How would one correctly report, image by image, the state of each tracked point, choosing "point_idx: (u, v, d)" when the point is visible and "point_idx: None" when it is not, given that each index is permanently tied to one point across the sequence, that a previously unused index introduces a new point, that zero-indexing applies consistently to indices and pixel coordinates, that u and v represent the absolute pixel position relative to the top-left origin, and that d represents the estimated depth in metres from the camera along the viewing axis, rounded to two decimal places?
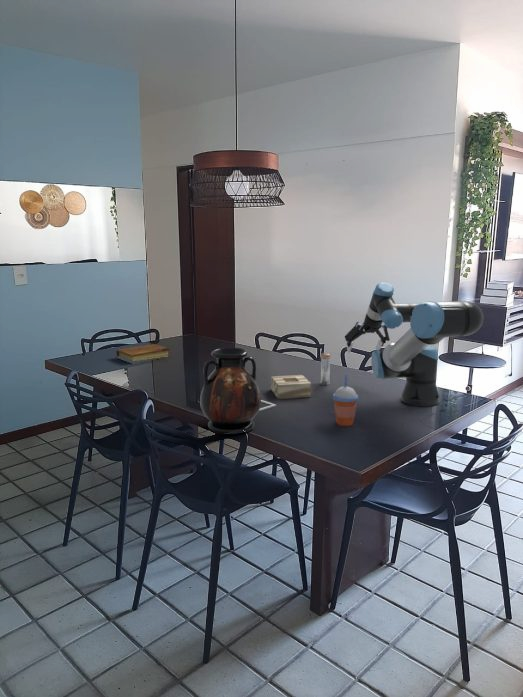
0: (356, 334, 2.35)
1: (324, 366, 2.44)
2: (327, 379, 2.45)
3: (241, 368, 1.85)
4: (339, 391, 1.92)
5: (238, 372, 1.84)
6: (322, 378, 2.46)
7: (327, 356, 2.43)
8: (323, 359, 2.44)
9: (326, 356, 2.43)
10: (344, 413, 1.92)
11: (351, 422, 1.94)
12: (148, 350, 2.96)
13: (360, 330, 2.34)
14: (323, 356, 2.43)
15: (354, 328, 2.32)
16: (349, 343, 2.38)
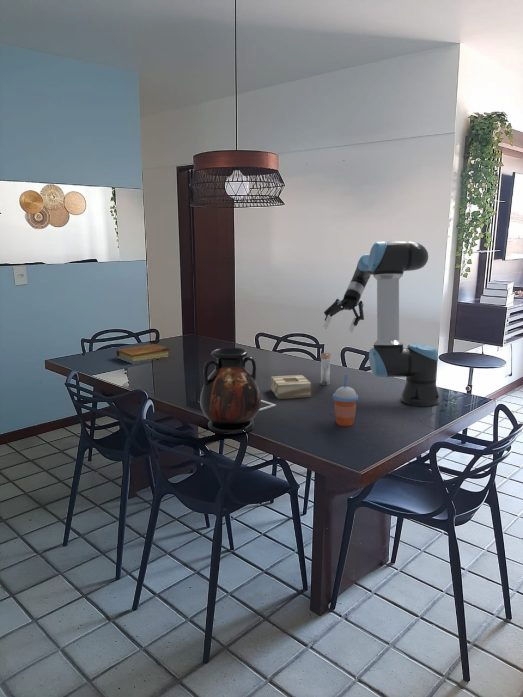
0: None
1: (324, 366, 2.44)
2: (327, 379, 2.45)
3: (241, 368, 1.85)
4: (339, 391, 1.92)
5: (238, 371, 1.84)
6: (322, 378, 2.46)
7: (327, 356, 2.43)
8: (323, 359, 2.44)
9: (326, 356, 2.43)
10: (344, 413, 1.92)
11: (351, 422, 1.94)
12: (148, 350, 2.96)
13: None
14: (323, 356, 2.43)
15: None
16: (326, 317, 2.58)
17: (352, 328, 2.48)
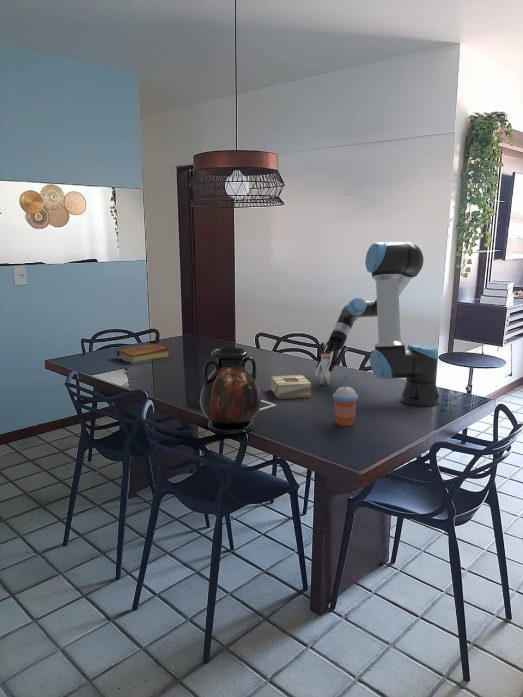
0: None
1: (324, 366, 2.44)
2: (327, 379, 2.45)
3: (241, 368, 1.85)
4: (339, 391, 1.92)
5: (238, 371, 1.84)
6: (322, 378, 2.46)
7: (327, 356, 2.43)
8: (323, 359, 2.44)
9: (326, 356, 2.43)
10: (344, 413, 1.92)
11: (351, 422, 1.94)
12: (148, 350, 2.96)
13: None
14: (323, 356, 2.43)
15: None
16: (318, 364, 2.47)
17: (327, 374, 2.43)
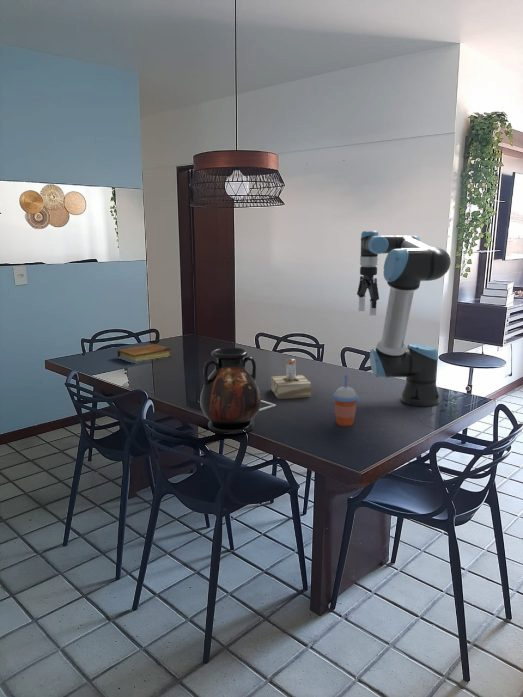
0: None
1: (290, 372, 2.30)
2: None
3: (241, 368, 1.85)
4: (339, 391, 1.92)
5: (238, 372, 1.84)
6: None
7: (292, 361, 2.29)
8: (288, 365, 2.29)
9: (291, 361, 2.29)
10: (344, 413, 1.92)
11: (351, 422, 1.94)
12: (150, 350, 2.96)
13: None
14: (288, 361, 2.29)
15: None
16: None
17: (373, 312, 2.40)
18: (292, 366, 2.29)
